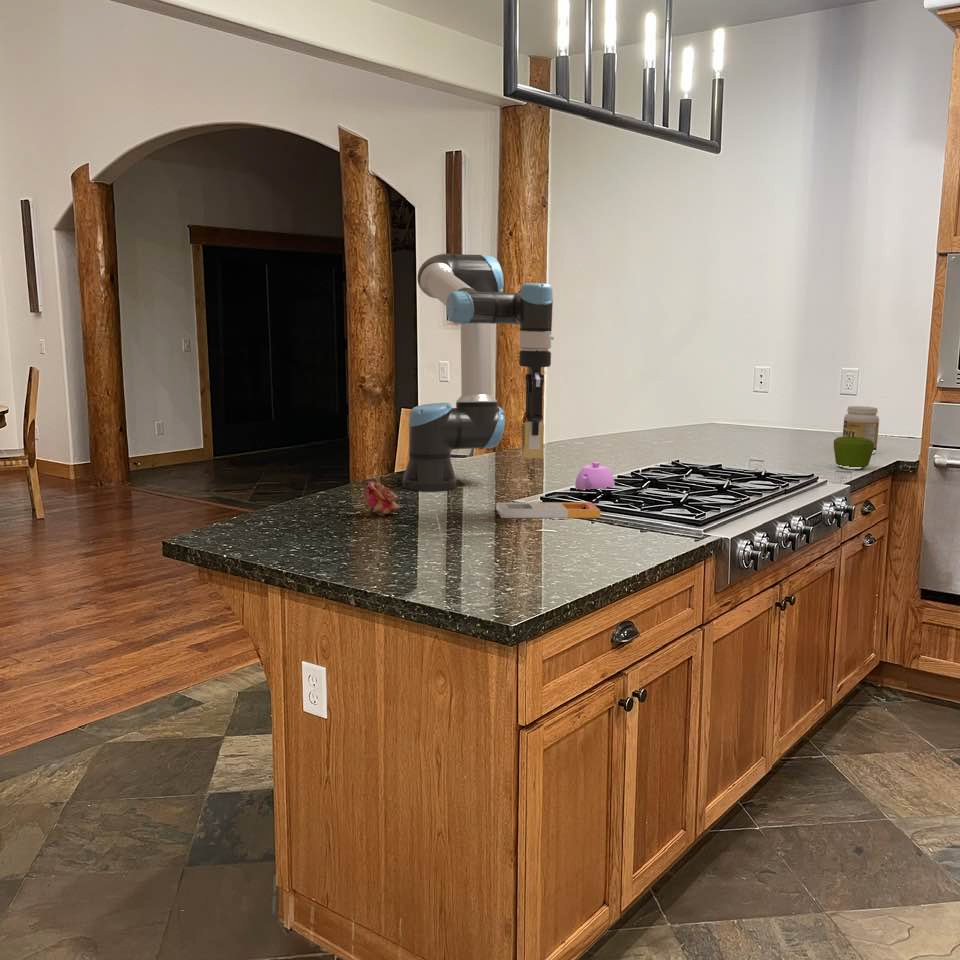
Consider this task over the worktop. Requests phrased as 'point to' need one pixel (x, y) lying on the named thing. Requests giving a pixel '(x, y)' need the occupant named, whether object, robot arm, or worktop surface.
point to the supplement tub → (862, 423)
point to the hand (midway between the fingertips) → (532, 447)
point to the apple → (853, 451)
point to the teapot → (594, 477)
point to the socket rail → (547, 510)
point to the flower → (380, 499)
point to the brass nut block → (525, 439)
